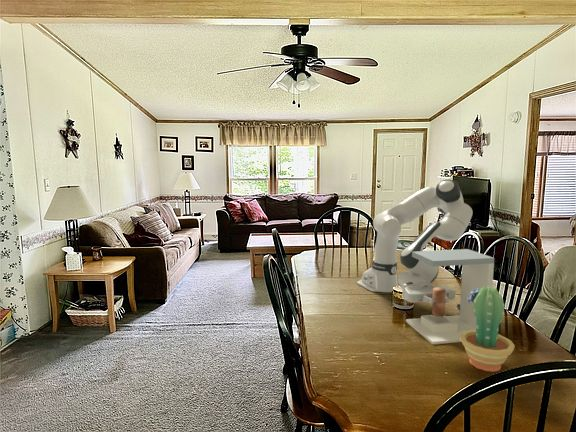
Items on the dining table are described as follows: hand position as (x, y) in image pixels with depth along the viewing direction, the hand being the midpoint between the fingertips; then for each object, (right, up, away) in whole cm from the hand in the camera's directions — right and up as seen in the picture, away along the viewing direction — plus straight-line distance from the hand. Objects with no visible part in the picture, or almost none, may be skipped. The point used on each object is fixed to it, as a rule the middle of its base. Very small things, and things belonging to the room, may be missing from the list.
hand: (440, 301), depth 143 cm
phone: (+20, -9, +17) cm, 28 cm away
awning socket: (+3, -11, 0) cm, 12 cm away
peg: (0, -5, +2) cm, 6 cm away
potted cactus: (+4, -15, -24) cm, 29 cm away
